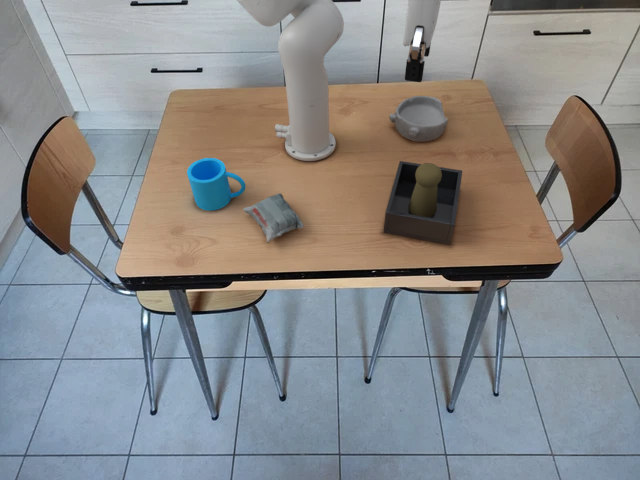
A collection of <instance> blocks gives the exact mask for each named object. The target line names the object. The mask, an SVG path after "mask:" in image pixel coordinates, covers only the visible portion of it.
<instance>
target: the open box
mask: <svg viewBox="0 0 640 480" xmlns="http://www.w3.org/2000/svg"><path fill="white" fill-rule="evenodd" d="M422 164H423V163H416V162H412V161H411V162H408V161H403V160H399V162H398V165H397V170H396V173H395V177H394V180H393V184H392V188H391V191H390V195H389V199H388V202H387V205H386V209H385V213H384V223H383V232H382V233H383V234H389V235H392V236H399V237H405V238H410V239H414V240H420V241H426V242H431V243H436V244H442V245H447V246H450V245H451V241H452V237H453V234H454V229H455V226H456V219H457V212H458V205H459V198H460V192H461V184H462V177H463V170H461V169H456V168H455V169H454V168H448V167H442V166H438V167H439V168H440V170H441V173H442V177H441V180H440V182H439V183H438V184H437V210H436V213H435V214H434V215H433V216H431V217H423V216H417V215H413V214H412V213H411V212H410V211H409V208H408V206H409V203H410V200H411V197H412V194H413V191H414V188H415V185H416V182H417V181H416V177H415V173H416V170H417V168H418V167H419V166H420V165H422Z"/></svg>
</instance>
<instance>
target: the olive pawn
mask: <svg viewBox="0 0 640 480" xmlns="http://www.w3.org/2000/svg"><path fill="white" fill-rule="evenodd" d="M421 164H422V165H420V166H419V167H418V168H417V170H416V173H415V177H416V181H417V182H416V185H415V188H414V191H413V194H412V197H411V200H410V203H409V206H408V208H409V211H410V212H411V213H412V214H413V215H417V216H423V217H431V216H433V215H434V214H435V213H436V210H437V184H438V183H439V182H440V180H441V177H442V173H441V170H440V168H439V167H440V166H438V165H437V164H434V163H431V162H425V163H421Z"/></svg>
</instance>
